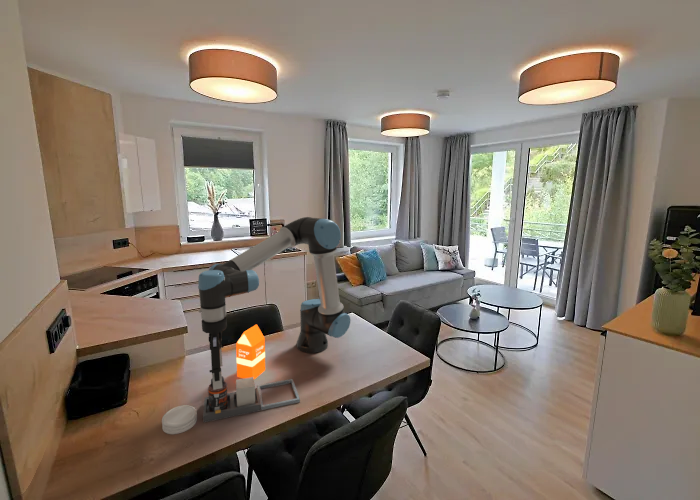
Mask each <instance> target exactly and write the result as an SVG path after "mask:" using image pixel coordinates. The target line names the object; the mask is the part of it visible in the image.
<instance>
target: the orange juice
mask: <svg viewBox="0 0 700 500" xmlns="http://www.w3.org/2000/svg"><path fill="white" fill-rule="evenodd" d="M265 340H266V338H265V336H264V335H263V333H262V331H261V329H260V327H259V326H258V324H254V325H253V326H251V327H250V328H248V329H247V330H245V331H243V333H242V334H241V336H240V338H239V339H238V340H237V342H236V343H235V347H236V349H235V350H236V351H235V352H236V353H235V354H236V356H235V357H236V378H240V379H244V378H250V377H254V380H255V379H257V378H258V377H259V376H260V375H262V374H263V373H264V372H265V371H266V341H265Z"/></svg>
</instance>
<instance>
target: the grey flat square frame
mask: <svg viewBox="0 0 700 500" xmlns="http://www.w3.org/2000/svg"><path fill="white" fill-rule="evenodd" d="M287 384H291V387H292V390H293V394H294V396H295V398H292V399H287V400H283V401H277V402H271V403H267V404H264V402H263V397H262V392H261V389H266V388H272V387H276V386H277V387H278V386H282V385H287ZM256 388H258V394H259V400H260V411H265V410H269V409H273V408H277V407H283V406H284V407H285V406H288V405H293V404H297V403H300V401H301V400H300V395H299V392H298V390H297V388H296V385H295V382H294V380H293V378H290V379H285V380H277V381H273V382H267V383H262V384H257V385H256Z"/></svg>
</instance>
